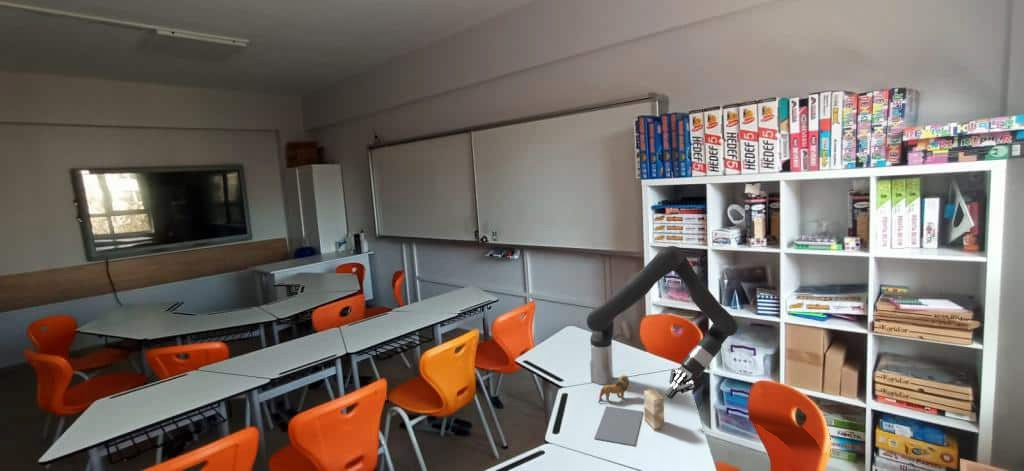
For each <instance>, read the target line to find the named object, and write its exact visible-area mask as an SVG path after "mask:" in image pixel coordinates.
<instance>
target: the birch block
mask: <svg viewBox="0 0 1024 471" xmlns="http://www.w3.org/2000/svg"><path fill="white" fill-rule="evenodd" d="M643 407H644V408H643V410H644V411H643V412H644V422H645V423H646V424H647V425H648V426H649V427H650V428H651V429H652V430H653V432H655V431H661V430H665V398H664V397H663V395H661V394H660V393H659V392H658V391H657V390H656V389H655V388H653V389H651V388H650V389H647V390H644V391H643Z"/></svg>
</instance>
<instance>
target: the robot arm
mask: <svg viewBox="0 0 1024 471" xmlns="http://www.w3.org/2000/svg"><path fill="white" fill-rule="evenodd" d="M672 272H674V273H675V274H676V275H677V276H678V277H679V279H680V280H681V282H682V283H683V286H685V289H686V291H687V293H688V296H689V297H690V299H691V300H692V301H693V303H694V305H696V307H697V308H698V309H699V311H700V312H701V313H702V314H703V315H704V316H706V317H707V318H708V319H709V320H710V321H711V322H712V325H711V326H710V328H709V329H708V330H707V332H706V333H705V335H704V336H703V337H702V338H701V340H700V341H699V342H698V343H697V345H695V346H694V347H693V348H692V349H691V351H689V353H688V354H687V356H686V357H685V358H684V359H683V361H682V362H681V366H680V367H679V368H677V369H675V368H674V369H673V368H672V369H671V370H670V376H669V380H668V383H669V384H670V387H669V388H668V389H667V391H666V392H665V394H664V395H665V396H666V397H667V398H668V399H669V400H671V399H673V398H674V397H675V396H676V395H677V394H678V393H681V394H685V393H687V392H689V391H692V390H695V389H696V385H694V384H695V383H694V382H696V378H699V377H701V375H703V373H704V371H705V370H707V368H708V367H709V365H710V364H711V363H712V361H713V360H714V358H715V357H716V355H717V354H718V353H719V352H720V351H721V350H722V347H723V344H724V343H725V341H726V340H727V339H728V338H729V337H732V336H734V335H735V334H736V333H737V332H738V329H739V327H738V326H739V325H738V323H737V321H736V319H735V318H734V317H733V316H732V315H731V314H730V313H729V312H728V311H727V310H726V309H725V308H724V307H723V306H722V305H721V304H720V302H719V301H718V300H717V299H716V297H715V296H714V295H713V293H712V292H711V291H710V290H709V289H708V288H707V286H706V285H705V284H704V282H703V281H702V279H700V277H699V276H698V274H697V273H696V271H695V269H694V268H693V267H692V265H691V263H690V262H689V259H688V258H687V256H686V254H685V253H684V252H683V250H682V249H681V248H680V247H679V246H676V245H669V246H666V247H663V248H662V249H660V250H659V251H658V252H657V254H655V255H654V257H653V258H652V259H651V260H650V261H649V262H648V263H647V264H646V265H645V266H644V267H643V268H642V269H640V270H639V271H638V272H636V273H635V274H633V275H632V276H631V277H630V278H628V279H627V280H625V282H624V283H622V284H621V285H620V286H619V287H618V288H617V289H616V290H615V291H614V292H613V293H612V294H611V296H610V297H609V298H608V299H607V300H606V301H605V302H604V303H603V304H601V305H599V306H598V307H596V308H594V309H593V310H592V311H590V312H589V313H588V315H587V317H586V325H587V328H589V329H590V330H591V332H592V333H591V335H590V341H589V342H590V361H589V366H590V367H589V369H590V382H593V383H595V384H599V385H610V384H611V383H613V381H614V373H613V372H614V371H613V369H614V366H613V364H614V363H613V341H612V340H613V336H614V319H615V318H617V317H618V316H619V315H621V314H622V313H624V312H625V311H626V310H628V309H630V308H631V307H632V306H634V305H636V304H637V303H638V302H639V301H641V300H642V299H643V298H644V297H646V296H647V294H648V293H649V292H650V290H652V288H653V287H654V285H655V284H657V282H658V281H660V280H661V279H663V278H664V277H665V276H667V275H668V274H670V273H672Z"/></svg>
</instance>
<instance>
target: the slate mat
mask: <svg viewBox="0 0 1024 471" xmlns="http://www.w3.org/2000/svg"><path fill="white" fill-rule="evenodd" d="M643 412H644V411H642V410H635V409H630V408H629V409H627V408H622V407H616V406H615V407H614V406H608V405H606V406H605V408H604V412H603V414H602V416H601V419H600V423H599V425H598V428H597V430H596V434H595V436H594V438H593V439H594V440H596V441H604V442H609V443H614V444H619V445H626V446H631V447H636V442H637V438H638V434H639V430H640V425H641V421H642V417H643Z"/></svg>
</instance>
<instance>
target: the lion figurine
mask: <svg viewBox="0 0 1024 471" xmlns="http://www.w3.org/2000/svg"><path fill="white" fill-rule="evenodd" d="M629 385H630V379H629V376H627V375H625V374H623V375H621V376H619V380H618V381H617V383H615V384H604V385H603V386H602V387H601V389H600V393H599V396H598V397H599V398H598V403H600V402H602V401H603V398H602V397H604V395H605V400H606V401H607V402H608V403H609V404H611V403H612V400H610V394H612V395H615V394H617V395H616V396H617V398H621V400H623V401H625V397H624V394H625V392H626V391H627V390H628V387H629Z"/></svg>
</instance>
